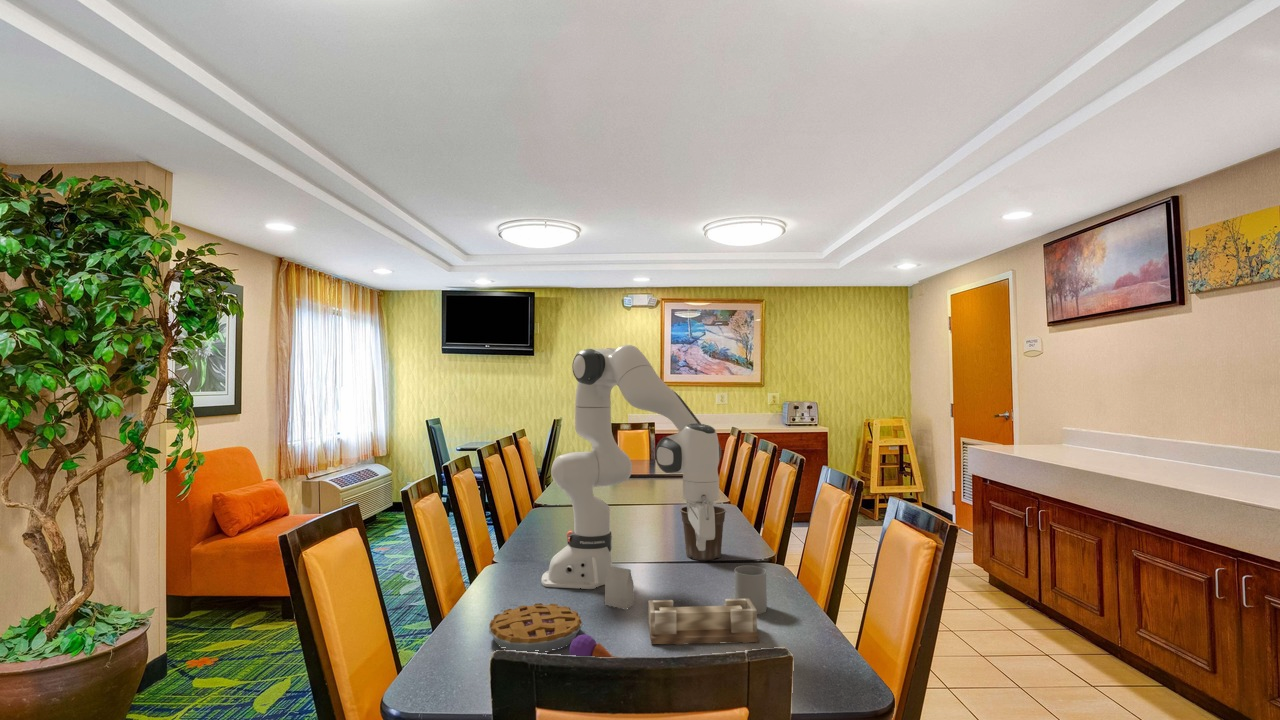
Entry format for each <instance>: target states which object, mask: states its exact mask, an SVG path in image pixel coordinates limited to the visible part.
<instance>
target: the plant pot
mask: <svg viewBox="0 0 1280 720" xmlns="http://www.w3.org/2000/svg"><path fill="white" fill-rule="evenodd" d="M713 507H714V513H715V538H714V540H706V547H705V550H704V551H699V550H698V548H697V546H696V535H695V530H694V528H693V526H692V525H691V523H690V521H689V518H688V513H687V505H686V506H683V507H681V508H679V511H680V514H681V522H682V523H683V533H684V534H683V535H684V545H685V554H686V557H687V558H690V559H692V558H693V559H694V560H696V561H697V560H698V561H712V560H716V559H720V558H721V556H722V545H723V531H724V523H725V518H726V517H725V515H726V513H727V509H726V508H725V507H723V506H722V507H721V506H717V505H714V506H713Z"/></svg>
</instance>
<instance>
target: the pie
mask: <svg viewBox="0 0 1280 720" xmlns="http://www.w3.org/2000/svg"><path fill="white" fill-rule="evenodd" d="M582 626H583V621H582V619H581V615H579V613H578V611H577V610H571V607H569V606H559V605H558V603H550V604H543V603H542V602H541V603H537V602H536V603H535V604H533V605H519V606H518V607H516V608H513V609H511V608H508V609H504V610H503V612H502V613H497V614H495V615H494V616H493V619H491V620H490V622H489V625H488V632H489V634H490V635H491V636H492V637H493V639H494V642H495V643H497V644H498V645H500V647H506V648H500V647H499V648H500V649H501V650H502V649H505V650H516V651H527V652H538V653H541V654H546V653H549V652H545V651H551V652H554V651H553V650H552V649H558V648H561V647H564V648H566V647H567V646H566V645H568V644H570V643H571V642H572V641H573V639H575V638H576V637H577V636H578V633H579V631H580V630H581V628H582ZM497 644H496V645H497ZM570 645H571V644H570ZM565 646H566V647H565ZM568 646H569V645H568ZM535 650H539V651H535ZM558 650H559V649H558Z"/></svg>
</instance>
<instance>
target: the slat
mask: <svg viewBox="0 0 1280 720" xmlns="http://www.w3.org/2000/svg"><path fill="white" fill-rule="evenodd" d="M730 609H742V607H741V606H740V605H731V606H725V605H703V606H702V605H699V606H673V607H661V608H659V611H665V610H676V631H682V630H713V629H731V610H730Z"/></svg>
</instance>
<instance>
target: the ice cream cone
mask: <svg viewBox="0 0 1280 720" xmlns="http://www.w3.org/2000/svg"><path fill="white" fill-rule="evenodd" d="M568 652H569V656H570V655H576V656H595V657H618V656H616V655H612V654H611V653H610V652H609V651H608V650H607V649H606V648H605V647H604V646H603V645H602V643H600V642H599V643H597V641H596V640H595V639H594V638H593V637H592V636H591V635H589V634H578V635H576V637H575V639H573V641H572V642H571V644H570V646H569V651H568Z"/></svg>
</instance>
